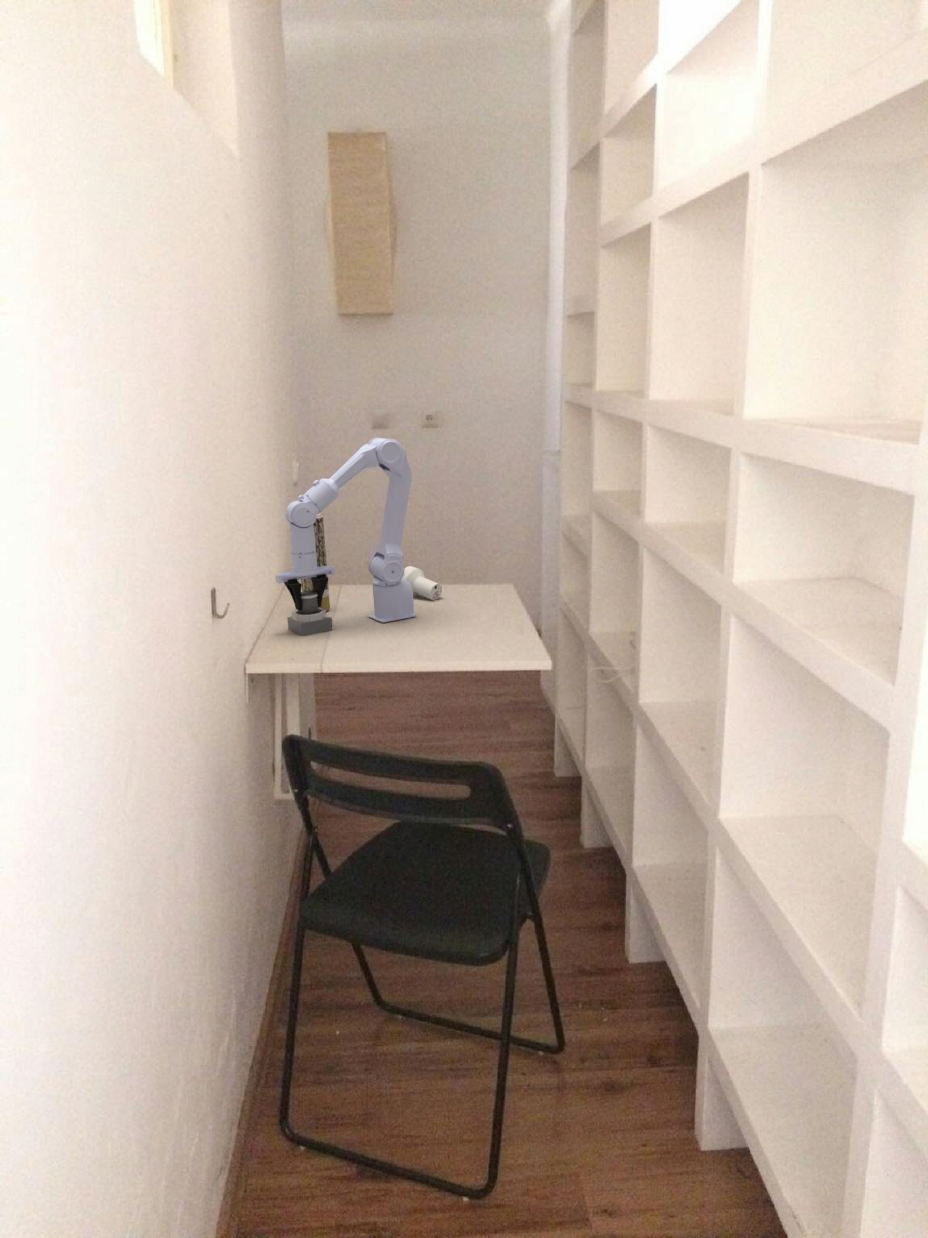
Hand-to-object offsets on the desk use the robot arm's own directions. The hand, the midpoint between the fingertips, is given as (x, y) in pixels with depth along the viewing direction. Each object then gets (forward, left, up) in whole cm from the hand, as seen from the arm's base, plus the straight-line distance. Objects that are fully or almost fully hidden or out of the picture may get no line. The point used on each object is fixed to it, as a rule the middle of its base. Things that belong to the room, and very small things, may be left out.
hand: (308, 607), depth 232 cm
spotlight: (-37, -11, -6) cm, 39 cm away
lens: (0, 0, -2) cm, 2 cm away
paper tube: (-9, -16, -6) cm, 19 cm away
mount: (0, 0, -5) cm, 5 cm away
